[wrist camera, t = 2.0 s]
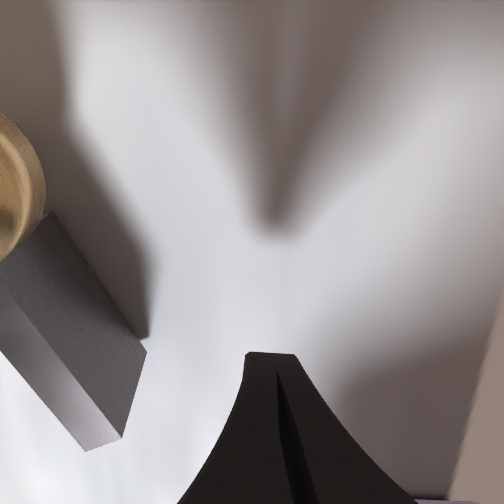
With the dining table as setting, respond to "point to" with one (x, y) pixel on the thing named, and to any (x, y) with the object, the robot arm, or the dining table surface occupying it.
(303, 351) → the dining table surface
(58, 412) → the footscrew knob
